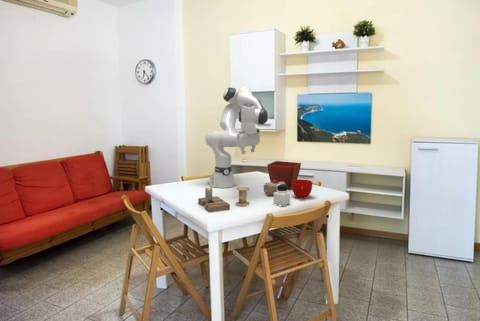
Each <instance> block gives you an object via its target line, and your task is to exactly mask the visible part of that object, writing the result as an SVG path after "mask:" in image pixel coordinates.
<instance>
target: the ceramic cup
mask: <svg viewBox="0 0 480 321" xmlns="http://www.w3.org/2000/svg"><path fill="white" fill-rule="evenodd" d="M312 189H313V180H308V179H297V180H293V181H292V188H291V190H292V193H293V194H294V196H295V197H296V198H297V197H298V199H307V198H308V197H309V196H310V195H311V192H312ZM306 197H307V198H306Z"/></svg>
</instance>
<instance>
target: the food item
mask: <svg viewBox="0 0 480 321" xmlns="http://www.w3.org/2000/svg"><path fill="white" fill-rule="evenodd" d="M278 184H286V183H284V182H278V181H277V180H276V181H275V180H273V181H272V182H271V181H269V182H266V183H264V184H263V193H264V194H265V195H266V196H267V197H274V193H275V192H277V185H278Z"/></svg>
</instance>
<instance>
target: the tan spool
mask: <svg viewBox="0 0 480 321" xmlns="http://www.w3.org/2000/svg"><path fill="white" fill-rule="evenodd" d="M236 190H237V191H238V201H236V202H235V206H237V205H238V206H237V207H248V206H250V205H249V204H250V202H249V201H247V196H248V195H247V191H249V190H250V187H249V186H243V185H242V186H237V187H236ZM247 205H248V206H247Z"/></svg>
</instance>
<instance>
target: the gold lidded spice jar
mask: <svg viewBox="0 0 480 321" xmlns="http://www.w3.org/2000/svg"><path fill="white" fill-rule="evenodd" d="M204 190H205V192H204V197H205V204H207V203H212V197H213V187H205V189H204Z"/></svg>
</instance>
